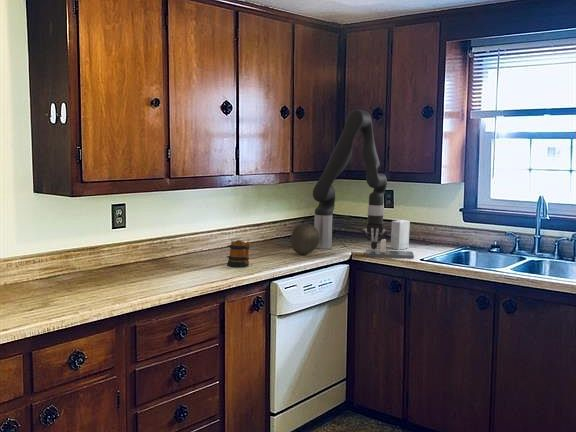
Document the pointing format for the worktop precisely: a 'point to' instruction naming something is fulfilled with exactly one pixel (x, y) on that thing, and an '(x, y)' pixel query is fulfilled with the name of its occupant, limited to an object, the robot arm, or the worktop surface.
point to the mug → (238, 254)
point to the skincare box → (400, 234)
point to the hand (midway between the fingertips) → (373, 249)
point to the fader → (383, 245)
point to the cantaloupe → (304, 239)
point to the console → (389, 254)
